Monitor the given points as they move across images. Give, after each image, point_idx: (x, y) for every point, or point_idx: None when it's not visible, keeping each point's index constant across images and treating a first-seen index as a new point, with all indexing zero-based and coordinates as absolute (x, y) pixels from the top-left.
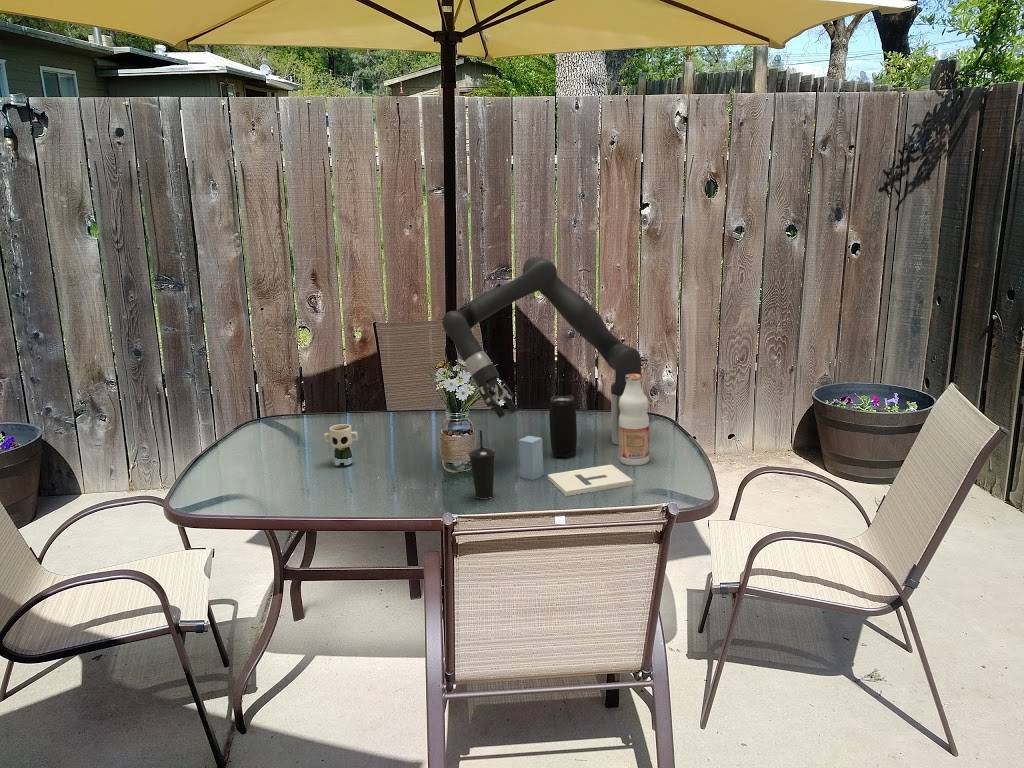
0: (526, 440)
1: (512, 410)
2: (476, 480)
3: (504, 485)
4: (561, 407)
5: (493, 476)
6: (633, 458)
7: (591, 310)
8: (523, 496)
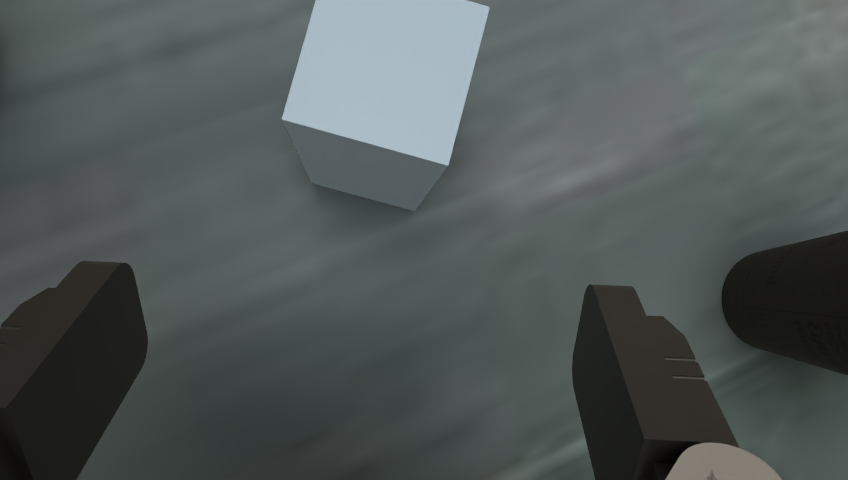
0: (444, 84)
1: (130, 337)
2: None
3: (571, 257)
4: None
5: (840, 232)
6: None
7: None
8: (696, 83)
